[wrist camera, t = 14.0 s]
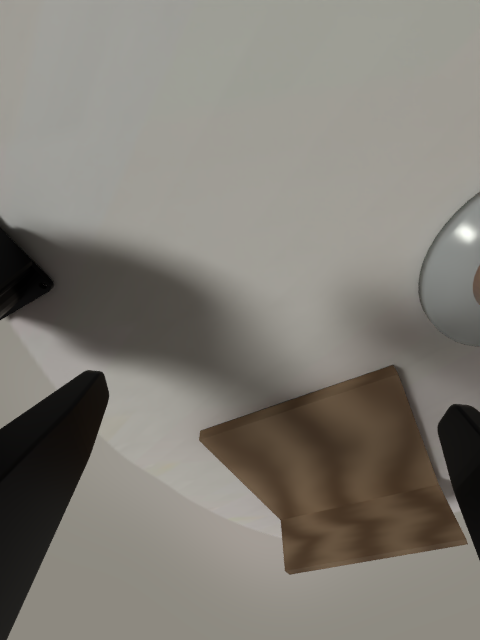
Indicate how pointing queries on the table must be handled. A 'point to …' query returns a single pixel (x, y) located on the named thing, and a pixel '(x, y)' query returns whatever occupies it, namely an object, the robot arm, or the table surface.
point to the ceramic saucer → (454, 276)
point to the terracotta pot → (477, 285)
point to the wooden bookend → (341, 474)
